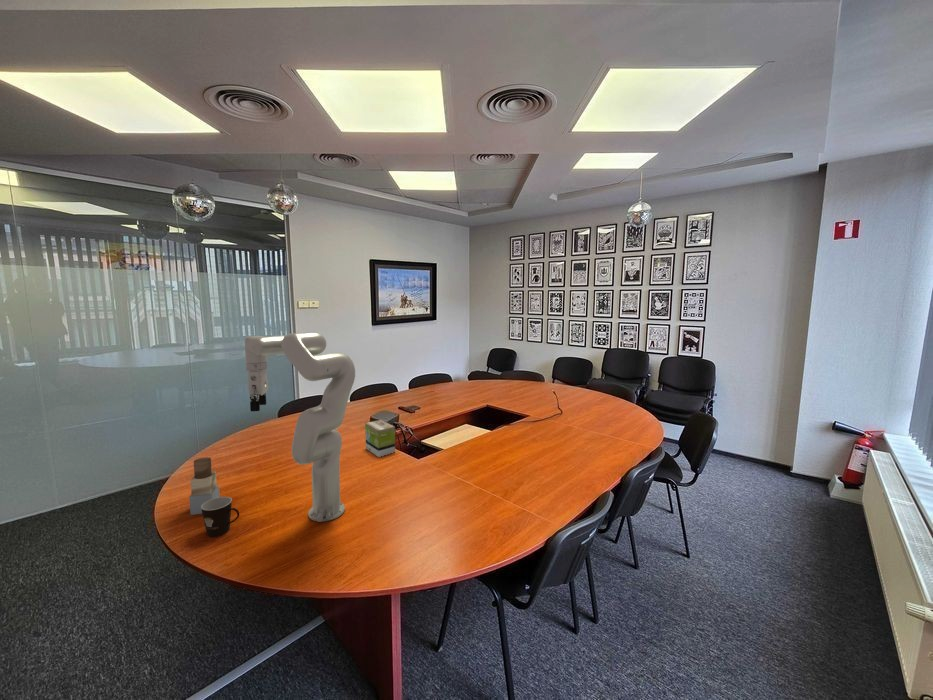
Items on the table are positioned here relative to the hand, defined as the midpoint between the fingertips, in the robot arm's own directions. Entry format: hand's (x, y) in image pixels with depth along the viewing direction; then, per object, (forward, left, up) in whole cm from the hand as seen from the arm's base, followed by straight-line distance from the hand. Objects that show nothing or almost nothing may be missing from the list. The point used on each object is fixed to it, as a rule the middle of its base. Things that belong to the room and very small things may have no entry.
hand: (258, 407), depth 151 cm
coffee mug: (-31, +5, -34) cm, 47 cm away
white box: (-13, +16, -34) cm, 40 cm away
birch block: (-13, +16, -27) cm, 34 cm away
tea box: (+30, -49, -35) cm, 67 cm away
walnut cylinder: (-13, +16, -21) cm, 30 cm away
